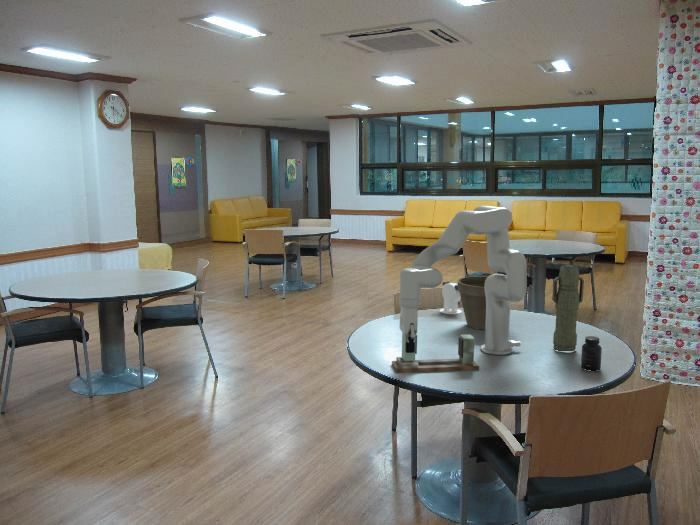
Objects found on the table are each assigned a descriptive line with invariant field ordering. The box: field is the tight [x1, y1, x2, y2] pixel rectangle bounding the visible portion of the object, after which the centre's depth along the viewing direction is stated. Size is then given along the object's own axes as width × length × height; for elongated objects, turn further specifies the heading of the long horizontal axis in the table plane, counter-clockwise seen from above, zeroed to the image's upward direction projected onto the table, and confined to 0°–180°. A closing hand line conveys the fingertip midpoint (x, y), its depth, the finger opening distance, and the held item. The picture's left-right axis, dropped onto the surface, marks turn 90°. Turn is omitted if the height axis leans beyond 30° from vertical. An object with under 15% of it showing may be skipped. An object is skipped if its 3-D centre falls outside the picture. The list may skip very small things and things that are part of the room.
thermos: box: [551, 264, 585, 351], centre depth 239 cm, size 9×12×35 cm
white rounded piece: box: [439, 280, 463, 315], centre depth 305 cm, size 12×11×15 cm
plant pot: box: [457, 275, 489, 331], centre depth 276 cm, size 25×25×22 cm
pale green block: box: [401, 332, 418, 361], centre depth 219 cm, size 5×5×10 cm
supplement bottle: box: [580, 335, 603, 372], centre depth 219 cm, size 7×7×12 cm
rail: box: [391, 334, 480, 374], centre depth 220 cm, size 31×9×12 cm, turn 96°
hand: (408, 349), depth 219 cm, fingers closed on pale green block, 5 cm apart
